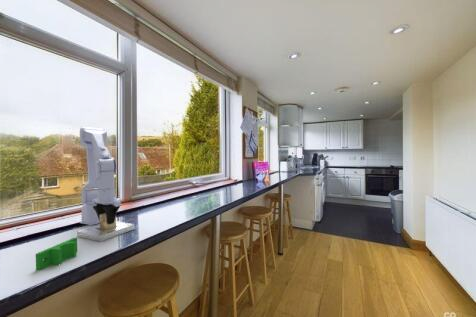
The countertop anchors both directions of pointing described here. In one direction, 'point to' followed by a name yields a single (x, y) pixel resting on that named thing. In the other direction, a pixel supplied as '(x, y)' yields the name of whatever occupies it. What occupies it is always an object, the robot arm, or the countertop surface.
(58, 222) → the countertop surface
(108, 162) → the robot arm
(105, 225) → the maple wedge
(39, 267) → the green boxy piece
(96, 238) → the grey square plate
